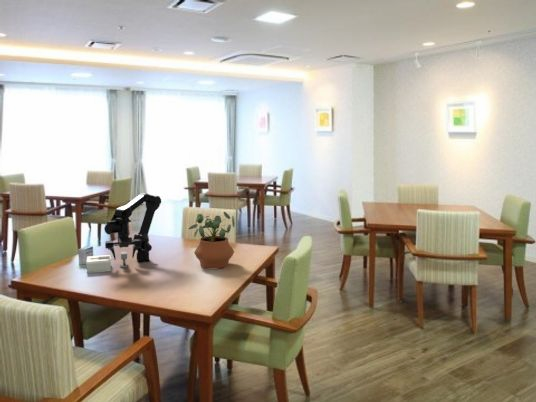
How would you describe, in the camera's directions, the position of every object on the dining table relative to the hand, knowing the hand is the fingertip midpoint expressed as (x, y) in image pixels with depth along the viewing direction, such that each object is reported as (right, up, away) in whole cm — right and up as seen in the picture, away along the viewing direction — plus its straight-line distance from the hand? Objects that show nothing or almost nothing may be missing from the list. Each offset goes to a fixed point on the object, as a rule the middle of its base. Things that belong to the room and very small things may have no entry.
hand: (124, 258), depth 246 cm
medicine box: (-24, -3, +9) cm, 26 cm away
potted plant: (+47, -4, +7) cm, 47 cm away
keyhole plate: (-12, -5, -4) cm, 14 cm away
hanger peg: (0, -5, +1) cm, 4 cm away
